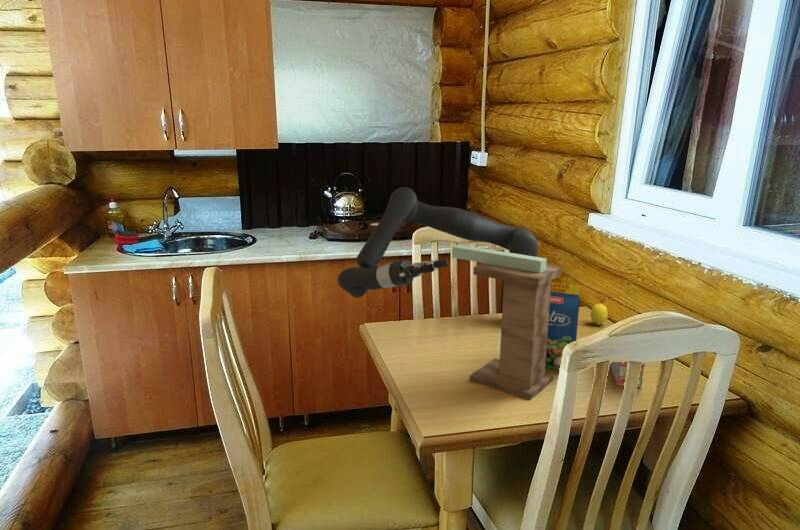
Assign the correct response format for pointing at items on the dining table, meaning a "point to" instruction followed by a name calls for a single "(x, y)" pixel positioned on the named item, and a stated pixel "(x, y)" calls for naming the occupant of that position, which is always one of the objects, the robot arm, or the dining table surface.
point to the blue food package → (561, 322)
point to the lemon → (599, 314)
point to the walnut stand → (520, 331)
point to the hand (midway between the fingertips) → (440, 264)
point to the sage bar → (500, 258)
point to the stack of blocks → (623, 372)
